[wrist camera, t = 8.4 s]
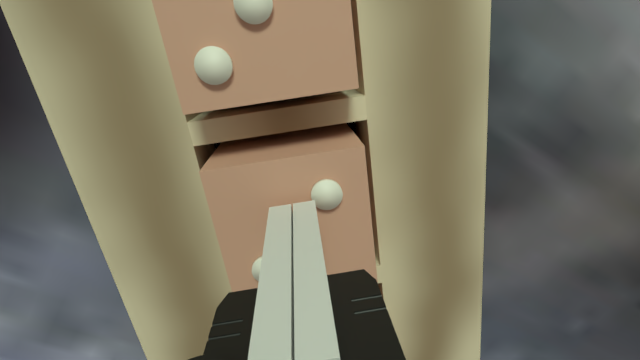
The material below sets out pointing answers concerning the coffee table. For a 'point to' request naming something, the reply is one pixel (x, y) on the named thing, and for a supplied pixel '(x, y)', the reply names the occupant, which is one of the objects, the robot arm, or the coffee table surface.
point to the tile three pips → (256, 50)
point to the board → (265, 119)
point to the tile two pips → (290, 197)
